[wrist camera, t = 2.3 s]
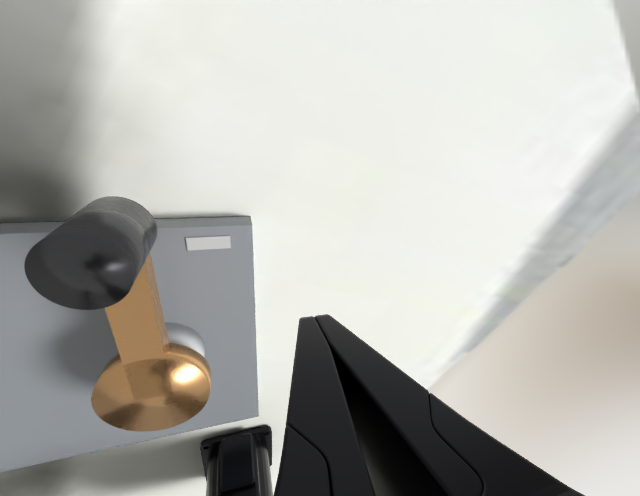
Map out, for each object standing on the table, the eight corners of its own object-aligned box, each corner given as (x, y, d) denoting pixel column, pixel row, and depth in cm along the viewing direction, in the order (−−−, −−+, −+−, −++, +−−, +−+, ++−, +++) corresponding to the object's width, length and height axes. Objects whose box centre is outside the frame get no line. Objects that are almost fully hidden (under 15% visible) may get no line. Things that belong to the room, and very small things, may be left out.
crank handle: (215, 402, 20) (212, 465, 16) (113, 421, 18) (87, 497, 15) (187, 196, 13) (173, 229, 10) (25, 197, 12) (-59, 238, 8)
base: (257, 400, 26) (260, 439, 23) (7, 451, 21) (-29, 508, 18) (250, 216, 18) (254, 239, 15) (-150, 227, 13) (-258, 263, 10)
